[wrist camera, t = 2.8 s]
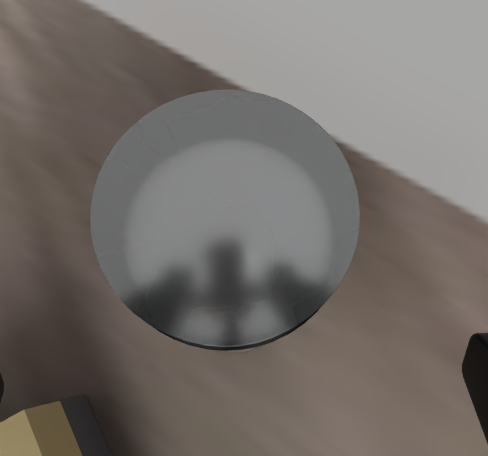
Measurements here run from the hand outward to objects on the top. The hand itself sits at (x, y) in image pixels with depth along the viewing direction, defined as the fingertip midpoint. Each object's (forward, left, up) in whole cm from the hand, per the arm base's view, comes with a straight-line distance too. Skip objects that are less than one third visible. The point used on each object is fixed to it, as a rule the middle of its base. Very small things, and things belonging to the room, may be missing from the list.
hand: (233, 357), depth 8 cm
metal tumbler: (+2, -1, -9) cm, 10 cm away
